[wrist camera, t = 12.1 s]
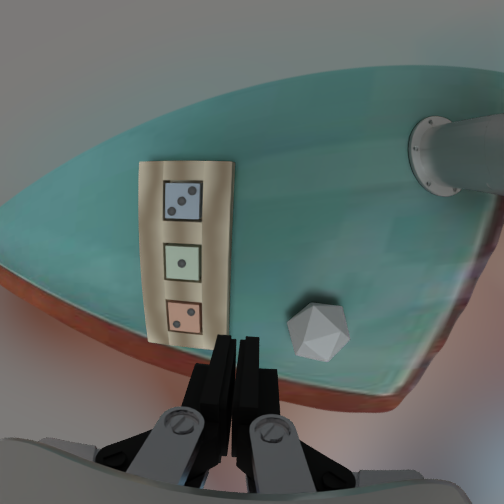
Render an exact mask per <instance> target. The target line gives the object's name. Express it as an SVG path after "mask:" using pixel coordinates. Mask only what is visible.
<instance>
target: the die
mask: <svg viewBox="0 0 504 504" xmlns="http://www.w3.org/2000/svg"><path fill="white" fill-rule="evenodd" d="M287 325H288V329H289V332H290V336H291V340H292V344H293V347H294V351H295V355H297V356H302V357H306V358H310V359H315V360H319V361H324V362H328V361H329V360H330V359H331V358H332V357H333V356H334V355H335V354H336V353H337V352H338V351H339V350H340V349H341V348H342V347H343V346H344V345H345V344H346V343H347V342H348V341H349V340H350V336H349V331H348V327H347V323H346V319H345V315H344V311H343V307H342V306H337V305H329V304H321V303H313V302H311V303H309V304H308V305H307V306H306V307H305V308H303V309H302V310H301V311H300V312H299V313H297V314H296V315H295V316H294V317H293V318H291V319H290V320H289V321H288V322H287Z"/></svg>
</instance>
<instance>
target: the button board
mask: <svg viewBox="0 0 504 504" xmlns="http://www.w3.org/2000/svg"><path fill="white" fill-rule="evenodd" d="M234 177H235V163H234V162H231V161H149V162H139V246H140V264H141V279H142V291H143V301H144V311H145V320H146V328H147V336H148V342H153V343H160V344H167V345H174V346H182V347H191V348H200V349H210V350H214V346H215V342H216V338H217V335H218V334H220V335H229V314H230V277H231V247H232V221H233V198H234ZM166 183H203V206H202V217H201V218H200V219H177V218H165V187H166ZM169 243H182V244H200V245H202V275H201V277H200V279H199V281H198V280H185V279H173V278H167V276H166V247H165V246H166V245H167V244H169ZM169 300H179V301H189V302H201V303H202V328H201V331H200V333H195V332H185V331H177V330H170V323H169V310H168V302H169Z"/></svg>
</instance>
